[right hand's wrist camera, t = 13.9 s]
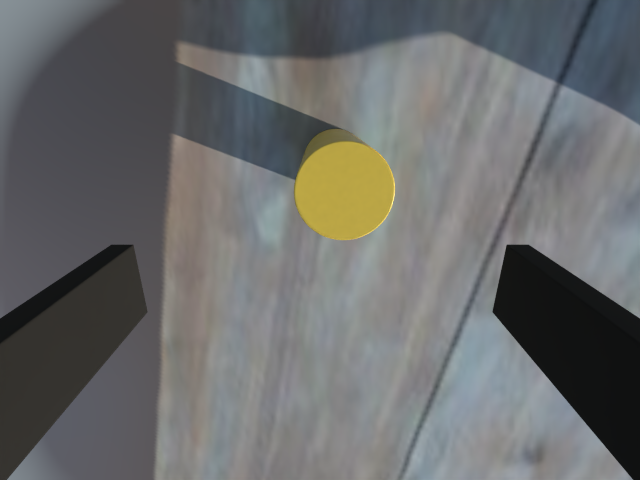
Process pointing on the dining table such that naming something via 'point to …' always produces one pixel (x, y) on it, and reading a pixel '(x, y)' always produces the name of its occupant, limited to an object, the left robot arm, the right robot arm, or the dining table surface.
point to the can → (343, 186)
